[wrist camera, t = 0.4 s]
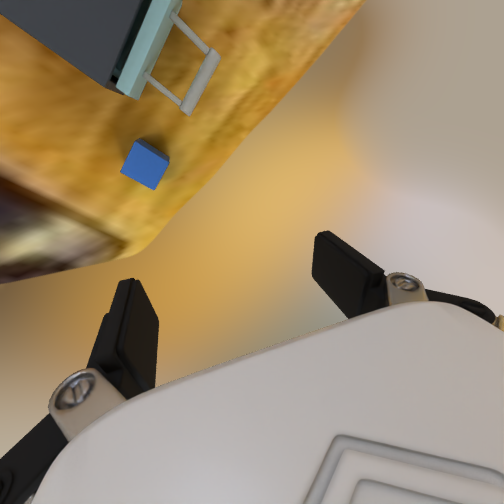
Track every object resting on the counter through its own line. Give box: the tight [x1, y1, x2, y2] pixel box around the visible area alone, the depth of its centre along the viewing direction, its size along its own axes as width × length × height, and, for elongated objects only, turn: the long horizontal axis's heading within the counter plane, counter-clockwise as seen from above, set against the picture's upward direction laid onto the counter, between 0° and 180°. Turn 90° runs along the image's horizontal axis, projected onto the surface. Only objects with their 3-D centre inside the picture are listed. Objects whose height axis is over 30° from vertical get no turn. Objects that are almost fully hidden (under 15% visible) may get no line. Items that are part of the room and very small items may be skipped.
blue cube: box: [120, 138, 169, 190], centre depth 30 cm, size 4×4×4 cm
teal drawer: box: [112, 0, 221, 116], centre depth 21 cm, size 19×11×8 cm, turn 52°
